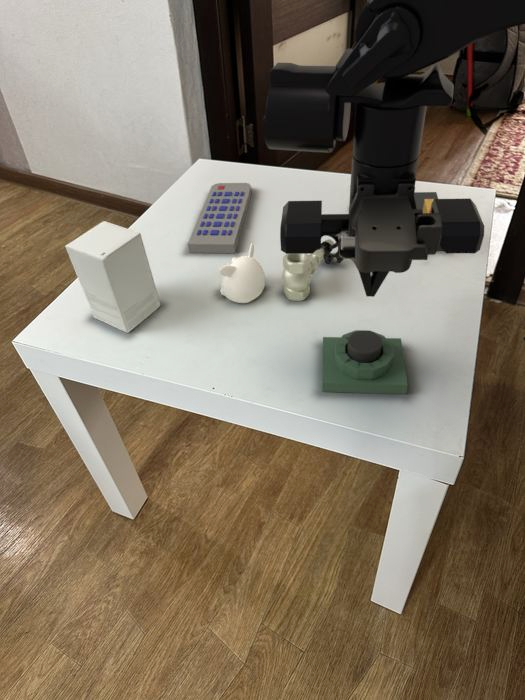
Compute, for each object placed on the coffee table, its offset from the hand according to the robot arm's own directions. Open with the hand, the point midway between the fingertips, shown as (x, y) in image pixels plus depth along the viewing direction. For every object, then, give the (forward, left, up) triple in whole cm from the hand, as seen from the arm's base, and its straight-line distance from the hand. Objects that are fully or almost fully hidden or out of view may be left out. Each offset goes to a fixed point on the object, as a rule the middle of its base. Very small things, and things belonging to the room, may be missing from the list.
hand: (370, 294), depth 54 cm
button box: (0, 0, -12) cm, 12 cm away
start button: (0, 0, -9) cm, 9 cm away
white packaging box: (+34, -10, -12) cm, 38 cm away
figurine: (+17, -15, -12) cm, 26 cm away
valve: (+7, -18, -12) cm, 23 cm away
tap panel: (-8, -31, -12) cm, 35 cm away
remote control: (+23, -37, -12) cm, 45 cm away
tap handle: (-11, -27, -9) cm, 30 cm away
